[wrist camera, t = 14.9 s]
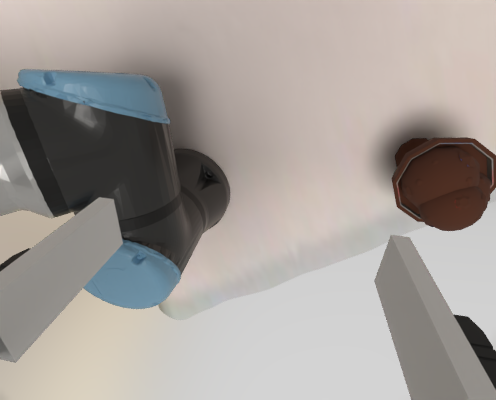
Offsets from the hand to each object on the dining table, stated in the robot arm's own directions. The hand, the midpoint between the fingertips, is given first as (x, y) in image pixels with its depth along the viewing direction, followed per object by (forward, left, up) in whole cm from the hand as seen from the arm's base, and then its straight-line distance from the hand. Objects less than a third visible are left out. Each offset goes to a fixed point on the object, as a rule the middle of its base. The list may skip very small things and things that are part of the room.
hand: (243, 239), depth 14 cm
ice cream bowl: (+20, -5, -32) cm, 38 cm away
